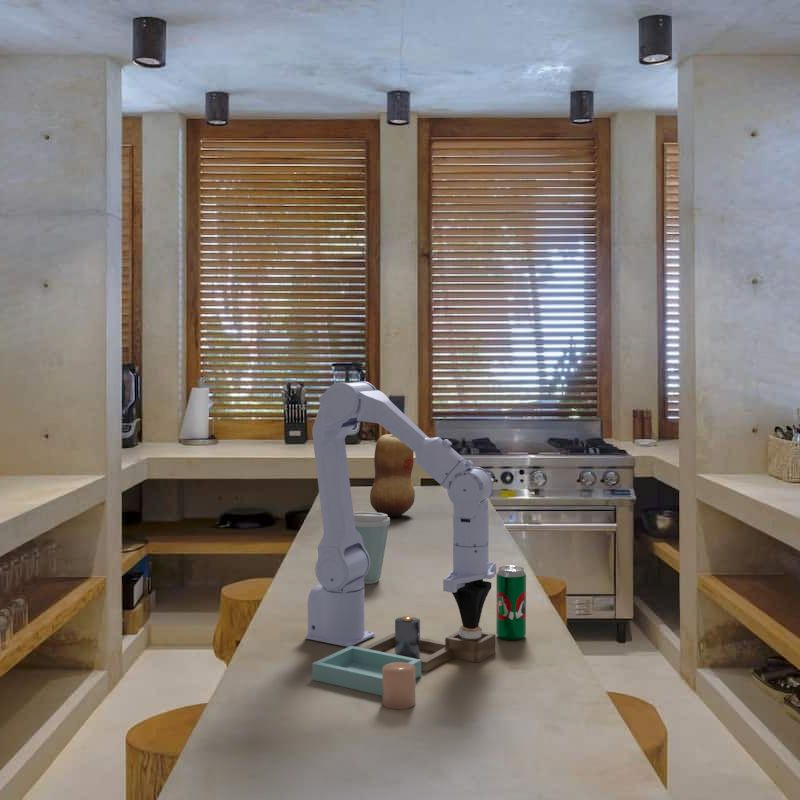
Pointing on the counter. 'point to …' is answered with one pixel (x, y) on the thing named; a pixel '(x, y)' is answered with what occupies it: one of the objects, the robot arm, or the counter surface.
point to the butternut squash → (392, 477)
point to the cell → (407, 637)
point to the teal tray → (358, 668)
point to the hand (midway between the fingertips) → (470, 627)
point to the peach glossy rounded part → (398, 685)
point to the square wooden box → (471, 647)
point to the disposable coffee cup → (373, 540)
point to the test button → (470, 633)
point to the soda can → (511, 603)
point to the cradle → (425, 644)
